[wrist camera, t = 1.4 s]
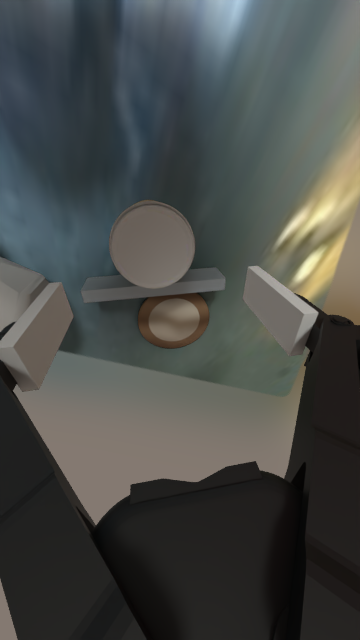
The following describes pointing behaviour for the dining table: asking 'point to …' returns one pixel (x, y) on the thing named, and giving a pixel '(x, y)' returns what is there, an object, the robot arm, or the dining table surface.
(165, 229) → the coffee cup
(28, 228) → the dining table surface
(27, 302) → the white open storage bin
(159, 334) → the walnut mat
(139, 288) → the grey wall
